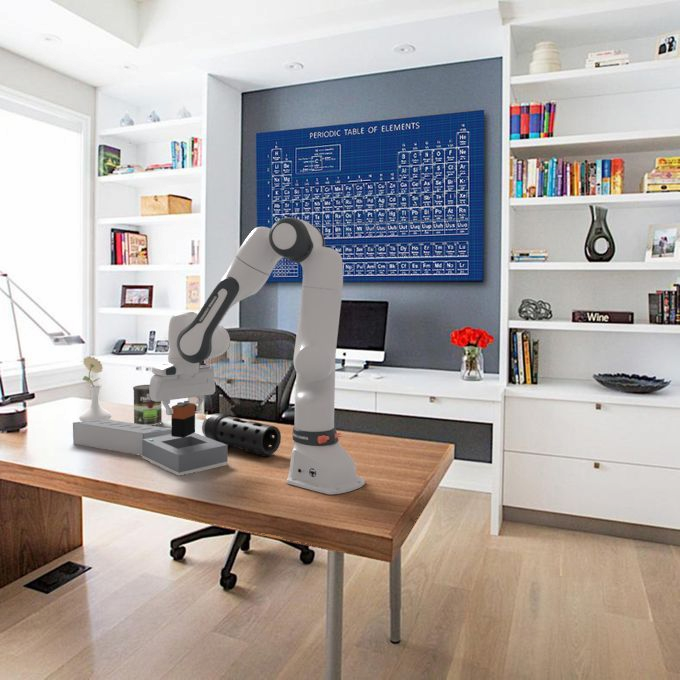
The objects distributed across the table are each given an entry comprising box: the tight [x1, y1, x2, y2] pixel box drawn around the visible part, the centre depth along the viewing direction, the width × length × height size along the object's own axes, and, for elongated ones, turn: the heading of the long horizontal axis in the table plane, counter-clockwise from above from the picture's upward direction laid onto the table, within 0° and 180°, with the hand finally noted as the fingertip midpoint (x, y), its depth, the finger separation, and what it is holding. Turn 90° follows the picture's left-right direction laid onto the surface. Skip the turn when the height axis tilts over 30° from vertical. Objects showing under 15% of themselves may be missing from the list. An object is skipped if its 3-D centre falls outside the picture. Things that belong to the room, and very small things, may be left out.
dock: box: [142, 432, 229, 476], centre depth 176 cm, size 22×16×6 cm
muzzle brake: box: [201, 412, 282, 458], centre depth 190 cm, size 10×28×10 cm, turn 53°
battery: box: [170, 400, 196, 438], centre depth 175 cm, size 4×7×10 cm, turn 164°
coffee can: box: [132, 384, 163, 426], centre depth 223 cm, size 10×10×14 cm
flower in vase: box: [78, 356, 112, 422], centre depth 224 cm, size 13×11×25 cm
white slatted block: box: [72, 419, 171, 456], centre depth 194 cm, size 30×14×8 cm, turn 66°
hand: (183, 412), depth 175 cm, fingers closed on battery, 8 cm apart
